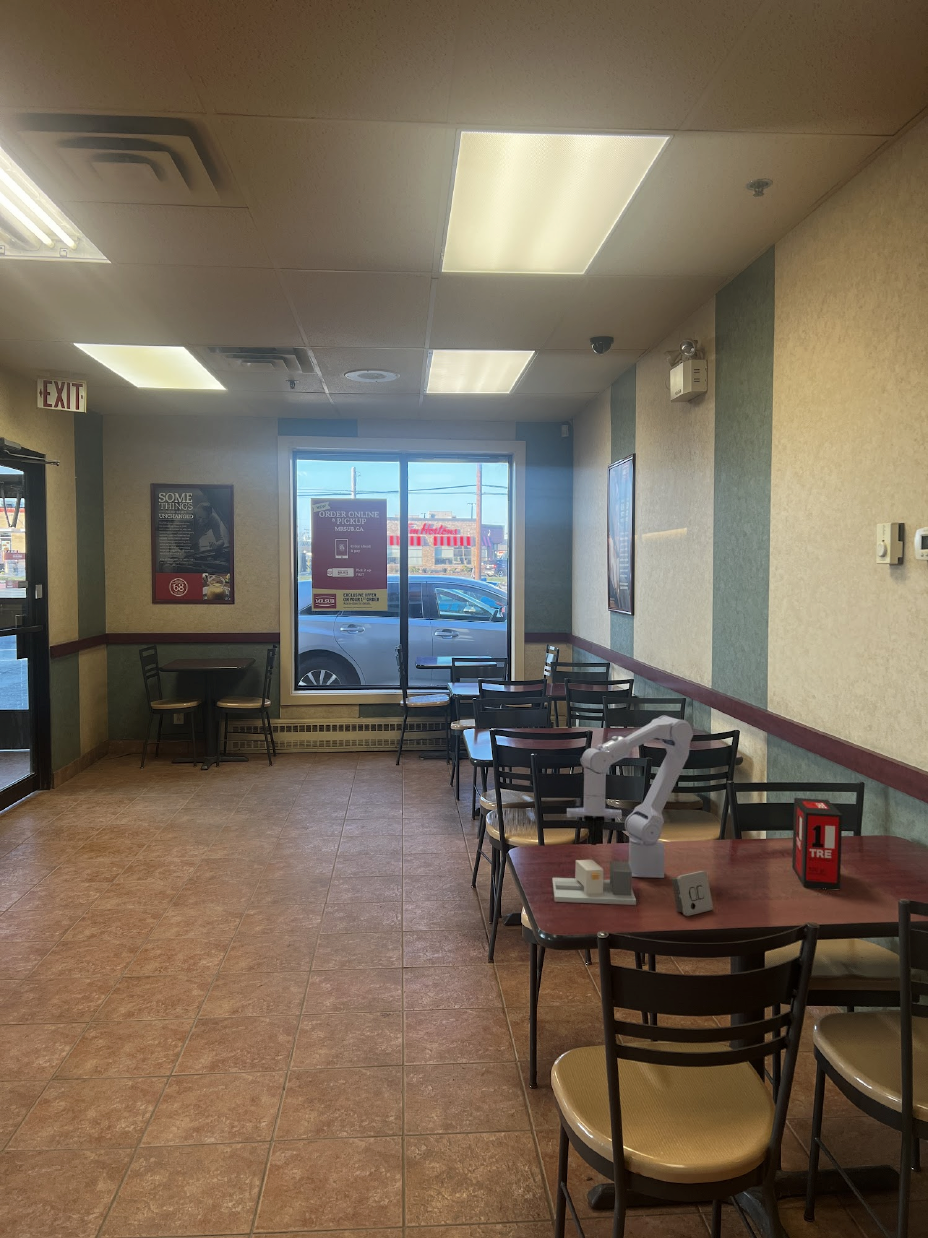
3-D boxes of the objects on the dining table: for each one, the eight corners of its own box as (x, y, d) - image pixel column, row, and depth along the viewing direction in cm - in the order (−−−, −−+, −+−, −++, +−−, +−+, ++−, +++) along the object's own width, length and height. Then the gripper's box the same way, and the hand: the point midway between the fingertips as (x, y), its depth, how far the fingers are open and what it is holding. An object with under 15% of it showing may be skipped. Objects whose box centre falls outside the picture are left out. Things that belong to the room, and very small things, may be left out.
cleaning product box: (839, 890, 216) (842, 815, 215) (803, 887, 218) (806, 812, 217) (825, 870, 232) (827, 799, 232) (792, 867, 234) (794, 797, 233)
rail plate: (628, 885, 217) (629, 858, 217) (635, 905, 203) (636, 876, 203) (552, 882, 219) (552, 855, 218) (554, 901, 205) (555, 873, 204)
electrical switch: (686, 918, 196) (684, 878, 196) (670, 912, 200) (668, 873, 201) (713, 911, 201) (712, 872, 201) (697, 905, 205) (696, 868, 206)
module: (591, 882, 216) (592, 859, 215) (604, 894, 207) (604, 870, 207) (575, 883, 215) (575, 860, 215) (587, 895, 206) (587, 871, 206)
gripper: (619, 791, 225) (618, 840, 225) (566, 789, 226) (565, 838, 226) (623, 797, 218) (622, 848, 218) (568, 795, 219) (567, 846, 219)
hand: (593, 844), depth 222 cm, fingers closed
